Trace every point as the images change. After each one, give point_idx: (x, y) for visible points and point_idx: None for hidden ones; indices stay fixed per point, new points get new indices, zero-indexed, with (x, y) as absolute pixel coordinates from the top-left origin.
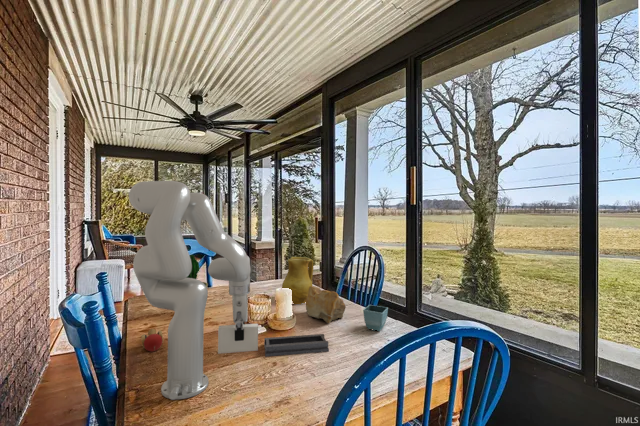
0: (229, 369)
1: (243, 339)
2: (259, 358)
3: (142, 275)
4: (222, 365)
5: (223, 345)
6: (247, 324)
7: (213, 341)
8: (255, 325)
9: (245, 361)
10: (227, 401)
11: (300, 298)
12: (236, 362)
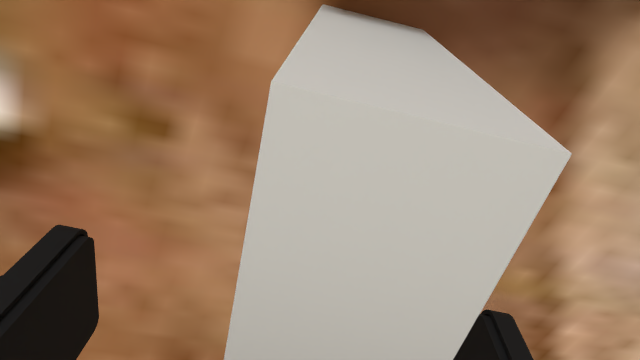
0: (631, 331)
1: (509, 322)
2: (634, 66)
3: None
4: (532, 354)
5: None
6: (248, 356)
7: None
8: (427, 210)
9: (592, 208)
10: None
11: None
12: (555, 272)
